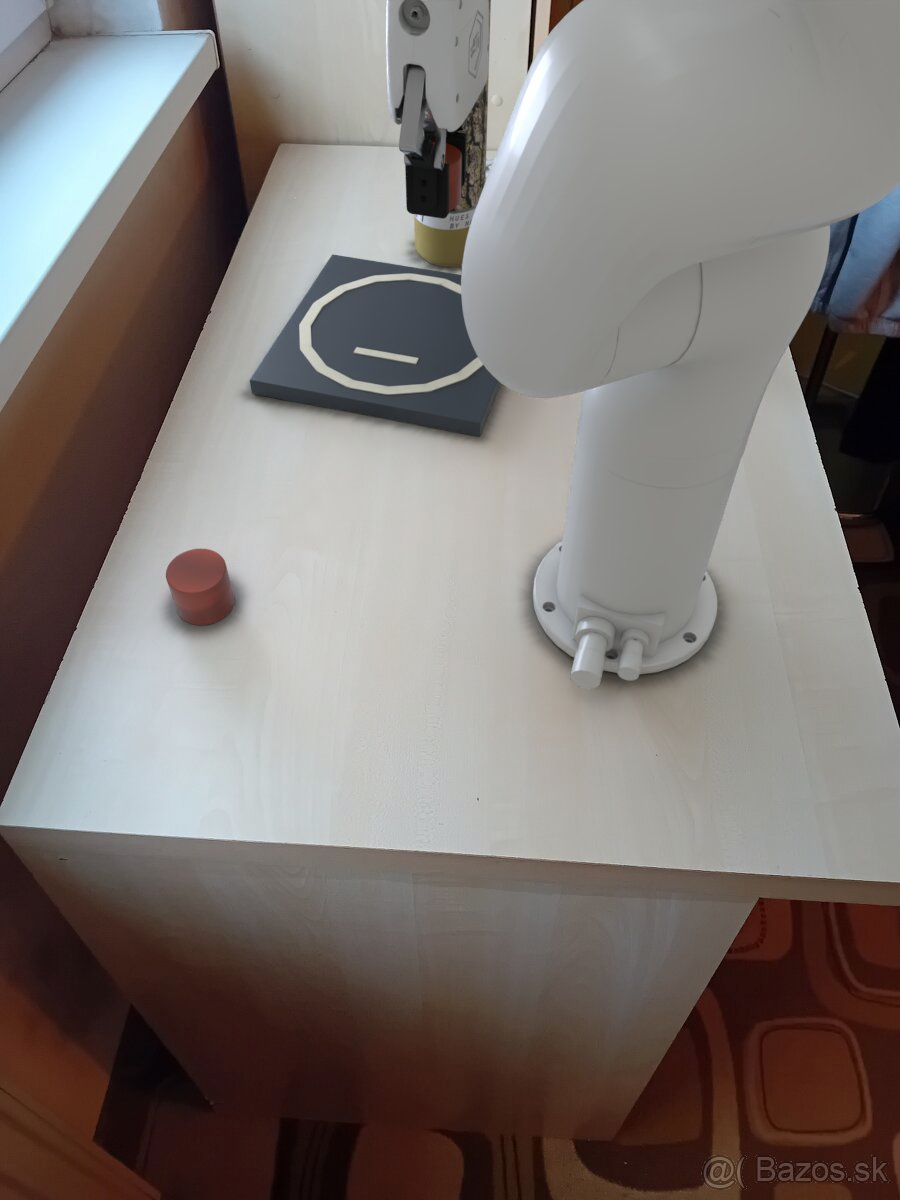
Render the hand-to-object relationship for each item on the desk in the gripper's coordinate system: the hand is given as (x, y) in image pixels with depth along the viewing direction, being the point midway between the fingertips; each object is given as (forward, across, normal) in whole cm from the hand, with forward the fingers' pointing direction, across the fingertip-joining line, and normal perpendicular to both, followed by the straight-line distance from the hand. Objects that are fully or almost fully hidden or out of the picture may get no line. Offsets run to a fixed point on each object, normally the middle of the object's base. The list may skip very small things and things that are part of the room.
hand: (436, 196), depth 74 cm
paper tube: (+15, +16, +4) cm, 22 cm away
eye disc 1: (+14, -32, +8) cm, 36 cm away
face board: (+15, 0, +4) cm, 15 cm away
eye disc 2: (0, 0, 0) cm, 0 cm away
